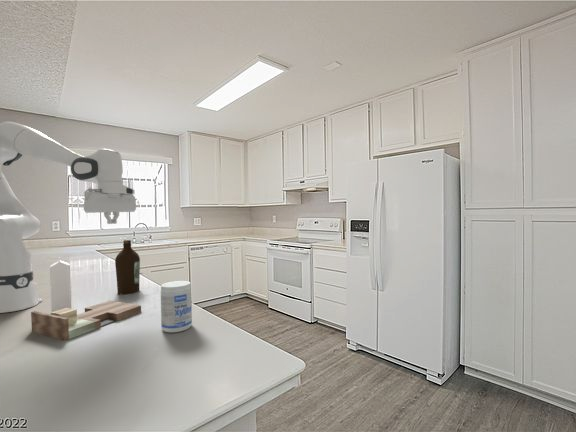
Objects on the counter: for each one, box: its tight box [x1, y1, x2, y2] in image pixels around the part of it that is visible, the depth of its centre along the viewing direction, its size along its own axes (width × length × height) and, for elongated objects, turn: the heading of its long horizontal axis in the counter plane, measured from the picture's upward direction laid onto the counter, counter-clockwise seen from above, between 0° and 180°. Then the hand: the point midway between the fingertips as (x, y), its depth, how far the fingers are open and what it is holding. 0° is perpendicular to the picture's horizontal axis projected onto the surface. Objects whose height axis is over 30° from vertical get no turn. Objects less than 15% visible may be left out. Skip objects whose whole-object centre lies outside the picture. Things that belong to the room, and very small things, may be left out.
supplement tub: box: [160, 280, 193, 334], centre depth 99 cm, size 10×10×15 cm
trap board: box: [30, 300, 142, 341], centre depth 107 cm, size 18×27×6 cm, turn 156°
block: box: [50, 307, 78, 324], centre depth 98 cm, size 5×5×4 cm
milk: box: [49, 257, 72, 312], centre depth 114 cm, size 6×6×22 cm
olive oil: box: [114, 239, 141, 295], centre depth 145 cm, size 11×11×25 cm
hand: (112, 223), depth 121 cm, fingers closed
